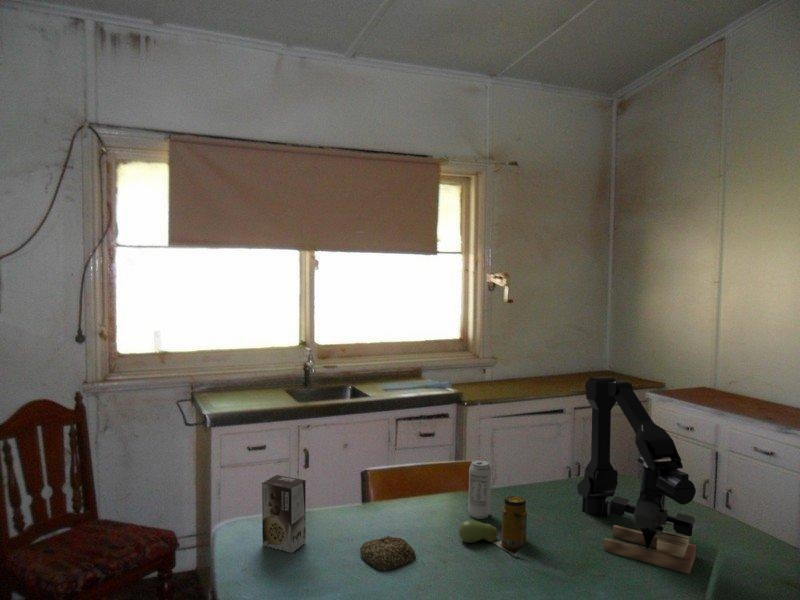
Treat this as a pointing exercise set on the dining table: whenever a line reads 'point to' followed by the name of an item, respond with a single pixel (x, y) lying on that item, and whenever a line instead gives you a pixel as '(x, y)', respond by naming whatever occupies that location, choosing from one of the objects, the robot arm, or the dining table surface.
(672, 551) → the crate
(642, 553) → the bay
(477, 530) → the pear
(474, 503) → the energy drink can
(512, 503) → the condiment
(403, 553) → the bread roll
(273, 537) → the coffee box
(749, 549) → the dining table surface
